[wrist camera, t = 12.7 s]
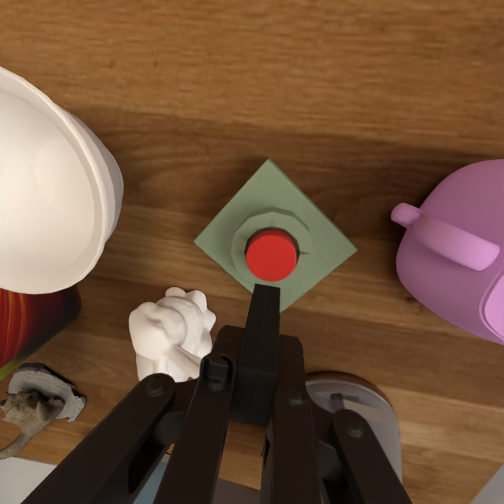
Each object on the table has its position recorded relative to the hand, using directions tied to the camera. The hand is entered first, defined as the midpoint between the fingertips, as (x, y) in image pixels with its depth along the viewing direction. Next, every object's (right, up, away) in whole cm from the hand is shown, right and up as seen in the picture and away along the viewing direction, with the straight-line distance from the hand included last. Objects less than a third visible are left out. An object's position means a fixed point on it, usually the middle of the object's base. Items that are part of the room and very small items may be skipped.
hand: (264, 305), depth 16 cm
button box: (+1, +5, +10) cm, 12 cm away
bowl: (-17, +10, +11) cm, 23 cm away
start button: (+1, +3, +7) cm, 8 cm away
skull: (-30, -17, +23) cm, 41 cm away
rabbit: (-8, -4, +15) cm, 17 cm away
